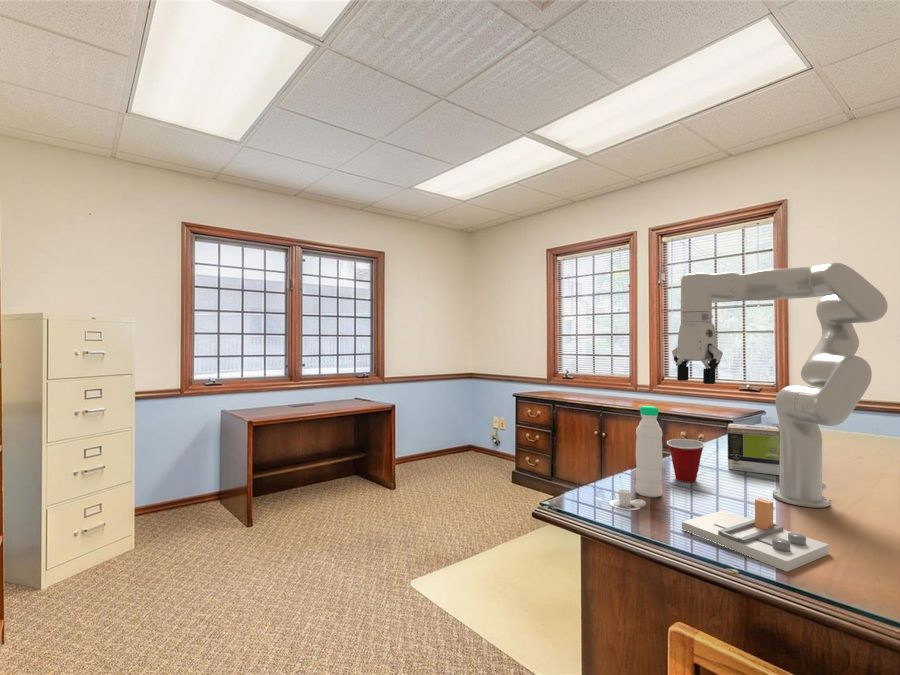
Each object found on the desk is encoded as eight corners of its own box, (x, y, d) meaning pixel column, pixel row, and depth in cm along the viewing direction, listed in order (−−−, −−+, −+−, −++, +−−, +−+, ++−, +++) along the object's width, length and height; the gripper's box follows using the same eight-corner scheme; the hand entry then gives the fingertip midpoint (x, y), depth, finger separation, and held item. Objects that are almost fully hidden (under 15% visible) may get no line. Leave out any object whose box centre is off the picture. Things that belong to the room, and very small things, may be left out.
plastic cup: (659, 477, 150) (659, 440, 150) (680, 473, 155) (680, 437, 156) (690, 487, 141) (691, 447, 141) (712, 482, 146) (712, 443, 146)
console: (723, 518, 116) (723, 504, 116) (828, 554, 97) (828, 537, 97) (681, 530, 108) (681, 515, 109) (787, 571, 89) (787, 553, 89)
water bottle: (665, 499, 130) (665, 408, 130) (638, 497, 131) (638, 407, 131) (659, 491, 137) (659, 405, 137) (633, 489, 138) (633, 404, 138)
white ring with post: (648, 507, 125) (648, 491, 125) (637, 515, 119) (637, 499, 119) (616, 499, 131) (616, 484, 131) (604, 506, 125) (604, 491, 125)
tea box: (779, 469, 161) (779, 426, 161) (780, 476, 152) (780, 431, 152) (728, 463, 169) (728, 422, 169) (727, 469, 160) (727, 426, 161)
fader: (759, 524, 107) (759, 498, 107) (773, 529, 104) (773, 502, 104) (754, 526, 106) (754, 499, 106) (768, 530, 103) (768, 503, 103)
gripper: (733, 318, 120) (733, 385, 120) (685, 320, 137) (684, 379, 137) (708, 317, 118) (708, 385, 118) (662, 320, 135) (662, 379, 135)
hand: (695, 382), depth 127 cm, fingers open, 9 cm apart
